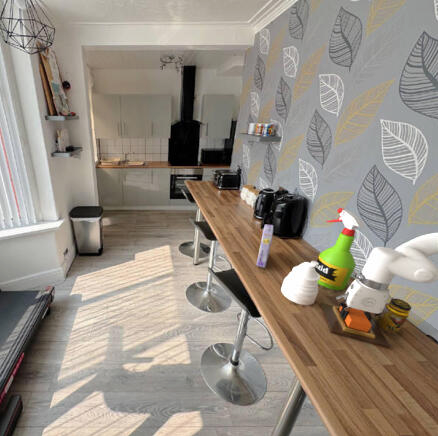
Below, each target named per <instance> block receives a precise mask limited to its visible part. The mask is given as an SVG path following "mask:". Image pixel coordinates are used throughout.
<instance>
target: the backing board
mask: <svg viewBox="0 0 438 436" xmlns="http://www.w3.org/2000/svg"><path fill="white" fill-rule="evenodd" d="M319 307H320V310H321V312H322V315H323V317H324V320H325V322H326V325H327V327H328V330H329V331H330V334H334V335H338V336H341V337H345V338H348V339H353V340H355V341H360V342H363V343H366V344H367V343H368V344H371V345H375V346H378V347H381V348H386V349H390V348H391V345H390V343H389V341H388V340H387V338H386V337H385V335H384V334H383V332H382V330H381V329H380V328H379V325H378V324H377V322H375V319H374V318H372V319H371V321H370V323H371V325H372V326H371V327H370V329H369V331H368V332H364V331H361V330H357V329H353V328H349V327H347V325H346V323H345V321H344V320H343V319H342V317H341V315H340V311H339V309H340V307H341V306H338V305H332V304H328V303H323V302H319Z"/></svg>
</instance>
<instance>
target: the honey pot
mask: <svg viewBox="0 0 438 436" xmlns="http://www.w3.org/2000/svg"><path fill="white" fill-rule="evenodd" d="M318 264H319V263H318V262H317V260H316V261H315V260H311V261H310V262H309V261H305V262H302V263H300V264H299V265H295V266H294V267H293V268H292V270H291V271H290V272H289V273H288V274H287V276H285V277H284V279H283V282H282V284H281V288H280V291H281V294H282V295H283V296H284V297H285V298H286V299H288V300H289V301H291V302H293V303H294V304H298V305H302V306H311V305H313V304H314V303H315V301H316V299H317V296H318V294H319V284H318V282H317V281H318V280H320V275H319V274H318V273H317V272H316V271H315V268H314V267H317V266H318Z"/></svg>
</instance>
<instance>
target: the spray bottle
mask: <svg viewBox="0 0 438 436" xmlns="http://www.w3.org/2000/svg"><path fill="white" fill-rule="evenodd" d="M337 213H338V214H339V217H338V218H337V219H336V218H335V219H332V220H326V221H325V222H326V223H342V224H343V225H344V228H343V229H342V231H341V232H340V233H339V234H338V237H337V239H336V241H335V243H334V245H333V246H331V247H328V248H326V249H324V250H323V251H321V252H320V253H319V255H318V257H317V260H316V262H318V263H319V264H318V266H317V267H314V268H315V271H316V272H317V273H318V274H319V275H320V280H318V281H317V282H318V285H320V286H322V287H324V288H326V289H330V290H333V291H343V290H345V289H346V287H347V285H348V283H349V282H350V279H351V277H352V275H353V273H354V271H355V268H356V267H357V266H356V265H357V264H356V261H355V258H354V256H353V253H351V248H352V246H353V244H354V240H355V238H356V235H355V234H356V230H357V229H358V228H364V227H365V225H364V223H363V221H362V219H361V218H360V217H359V216H358V215H356V214H354V213H352V211H350V210H348V209H345V208H343V207H339V208H338V209H337Z"/></svg>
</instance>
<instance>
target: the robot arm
mask: <svg viewBox="0 0 438 436" xmlns="http://www.w3.org/2000/svg"><path fill="white" fill-rule="evenodd" d="M437 254H438V232H432V233H427V234H423V235H420V236H417V237H415V238H412V239H411V240H408V241H406V242H404V243H402V244H400V245H399V246H397V247H396V248H394V249H393V248H390V247H387V246H375V247H373V248H372V250H371V251H370V254H369V256H368V258H367V260H366V262H365V264H364V266H363V268H362V270H361V272H360V273H359V274H354V280H353V281H352V282H351V284H350V285H349V286H348V288H347V289H346V290H345V291H346V292H345V293H344V294H341V295H338V296H336V297H335V300H336V301H337V303H338V304H339V305H340V307H341V306H342V309H341V311H340V315H341V317H342V319H343V320H345V319H346V317H347V315H348V314H349V311H348V310H350V309H351V308H354V309H358V310H362V311H363V312H364V314H365V315H366V317H367V319H368V320H369V322H370V321H371V319H372V318H373V319H374V318H376V317H377V316H380V315H381V314H383V313H387V312H388V310H387V308H386V307H385V306H386V305H387V302H388V299H389V296H390V288H389V286H390V284H391V282H392V281H393V279H394V277H395V276H397V277H399V278H403V279H405V280H408V281H411V282H415V283H418V284H432V283H435V282H436V281H438V266H437V265H436V264H435V263H434V262H432V261H431V260H430V258H429V257H431V256H434V255H437ZM347 305H348V306H347Z"/></svg>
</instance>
